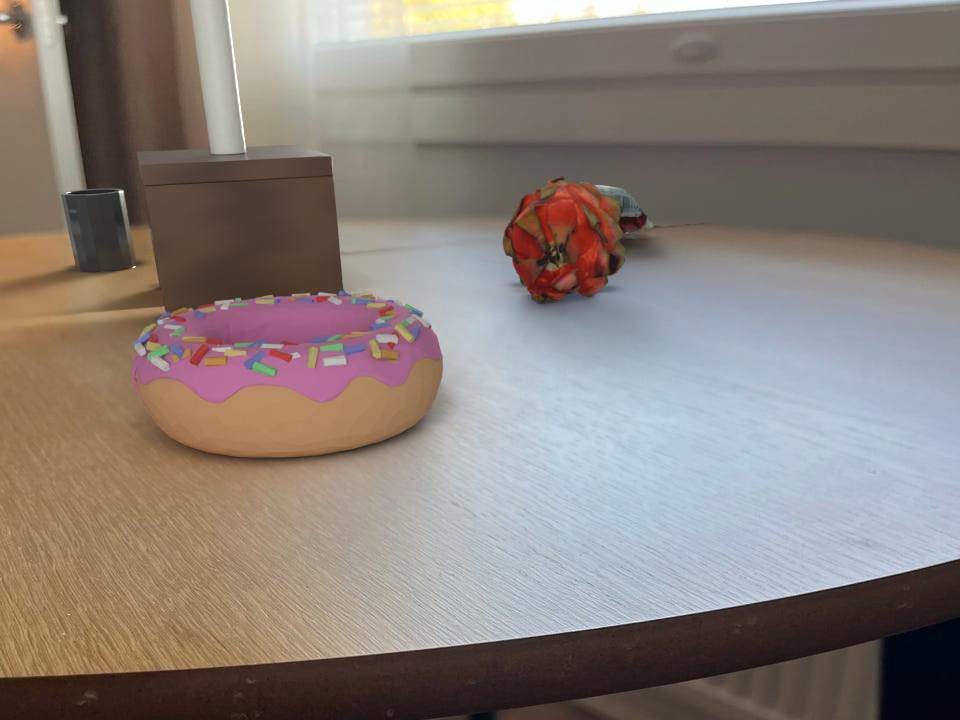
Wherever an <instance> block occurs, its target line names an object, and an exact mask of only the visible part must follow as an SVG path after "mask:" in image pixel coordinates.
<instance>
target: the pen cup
mask: <svg viewBox="0 0 960 720" xmlns="http://www.w3.org/2000/svg"><path fill="white" fill-rule="evenodd" d="M60 198H61V202H62V207H63V212H64V216H65V221H66V226H67V231H68V236H69V240H70V247H71V251H72V255H73V256H72V257H73V260H74V264H75V265H74V266H75V269H76V271H77V272H82V273H109V272H110V273H111V272H120V271H124V270H125V271H126V270H130V269H134V268H136V267H137V266H138V264H137V258H136V252H135V247H134V242H133V241H134V240H133V236H132V231H131V224H130V219H129V214H128V209H127V208H128V207H127V203H126V197H125V191H124V189H121V188H90V189H77V190H70V191H64V192H61V193H60Z"/></svg>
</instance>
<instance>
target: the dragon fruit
mask: <svg viewBox="0 0 960 720" xmlns="http://www.w3.org/2000/svg"><path fill="white" fill-rule="evenodd" d="M622 213H623V207H622V205H621V203H620V202H619V201H618V200H617V199H616V198H615V197H612V196H608V195H601V193H600V190H599V189H598V188H597V187H596V186H595V184H593V183H591V182H587V181H585V182H578V181H576V180H573V181H571V182H569V183H568V182H567V181H566V180H565V176H563V175H561V176H558V177H553V178H550V179H549V180H548V181H547V183H546V186H544V187H537V188H536V189H535V192H534V193H527V194H525V195H524V196H523V197H522V198H521V199H520V200H519V201H518V202H517V204H516V206H515V208H514V210H513V214H512V215H511V218H510V220H509V222H507V226H506V227H505V229H504V233H503V237H502V246H503V251H504V254H505V255H506V256H507V257H510V258H511V259H512V265H513V267H514V270H515V273H516V274H517V275H518V277H519V282H520V284H521V285H522V286H524V287H526V290H527V292H528V293H529V294H530V295H531V300H533V301H535V302H536V303H538V304H542V303H547V302H549V303H557V302H559V301H560V300H562V299H563V298H564V296H565V295H566V293H568V292H570V293H572V294H573V293H578V294H579V295H581V296H583V297H585V298H592V297H594V296H595V295H597V294H598V293H599V292H600V291H601V290H602V289H604V287H606V286H607V284H608V283H609V278H608V277H611V276H614V275H615V274H617V273H618V272H619V271H620V269H621V268H622V266H623V265H624V264H625V262H626V260H627V258H626V256H627V254H628V252H629V250H628V249H627V248H626V247H624V245H623V244H622V243H621V241H622V240H623V239H622V237H623V236H624V235H625V234H624V233H623V232H622V230H621V228H620V227H619V226H620V224H619V223H618V221H619V219H620V217H621V214H622ZM621 239H622V240H621Z"/></svg>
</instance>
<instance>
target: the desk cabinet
mask: <svg viewBox="0 0 960 720" xmlns="http://www.w3.org/2000/svg"><path fill="white" fill-rule="evenodd" d="M245 147H246V153H243V154H233V155H213V154H211V151H210V148H195V149H194V148H192V149H172V150H171V149H170V150H149V151H136V157H137V164H138V169H139V175H140V180H141V181H140V182H141V186H142V192H143V199H144V204H145V210H146V215H147V222H148V227H149V233H150V239H151V245H152V250H153V256H154V262H155V270H156V273H157V280H158V285H159V290H161V295H162V300H163V304H164V311H165V312H170V313H172V312H175V311H177V310H179V309H182V308H184V307H185V308H187V309H189V308H192V309H193V310H196V309H198V306H201V305H207V304H213V303H214V304H215V301H223V300H234V301H235V298H241V300H248V299H255V298H259V297H263V296H268V295H273V297H277V296H284V297H286V296H292V294H305V293H310V295H318V293H319V292H322V293H330V294H337V296H340V295H338V294H339V291H344V281H343V268H342V258H341V246H340V234H339V226H338V225H339V224H338V212H337V201H336V200H337V199H336V188H335V177H334V168H333V167H334V166H333V156H332V155H330V154H327V153H324V152H321V151H318V150H316V149H312V148H310V147H307V146H304V145H301V144H280V145H258V146H245ZM165 312H164V313H165Z"/></svg>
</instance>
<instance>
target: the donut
mask: <svg viewBox="0 0 960 720" xmlns="http://www.w3.org/2000/svg"><path fill="white" fill-rule="evenodd" d="M338 295H340V296H337V294H330V293H322V292H319V293H318V295H310V293H305V294H292V296H286V297H284V296H277V297H273V295H268V296H263V297H259V298H255V299H248V300H241V298H235V301H234V300H223V301H215V304H214V303H213V304H207V305H201V306H198V309H196V310H193V309H192V308H189V309H187V308H185V307H184V308H182V309H179V310H177V311H175V312H172V313H170V312H164V313H163V314H162V315H161V316H160V317H159V318H157V319H156V320H155V321H154V322H153V323H150V324H149V325H146V326H145V327H144V328H143V330H142V332H141V333H140V336H139V337H138V338H137V339H136V340H135V341H134V342H132V346H133V348H134V351H136V354H135V355H134V358H133V361H132V364H131V365H132V367H131V381H132V386H133V388H134V390H135V392H136V395H137V397H138V398H139V401H141V403H142V405H143V407H144V408H145V410H146V412H147V414H149V416H150V417H151V419H152V420H153V421H154V423H155V424H156V426H157V427H158V428H159V429H160V430H161V431H162V432H164V434H166V435H167V436H168V437H169V438H170V439H172V440H174V441H176V442H178V443H180V444H181V445H184V446H186V447H190V448H192V449H195V450H199V451H203V452H206V453H209V454H216V455H223V456H229V457H235V458H237V457H238V458H249V459H251V458H253V459H254V458H256V459H257V458H258V459H261V458H262V459H263V458H264V459H265V458H299V457H300V458H301V457H310V456H312V457H313V456H320V455H327V454H333V453H338V452H344V451H350V450H355V449H358V448H361V447H365V446H369V445H373V444H376V443H379V442H383V441H385V440H388V439H390V438H392V437H395V436H398V435H400V434H401V433H403V432H405V431H407V430H408V429H410V428H412V427H413V426H415V425H417V424H418V423H419V421H421V419H423V418H424V417H425V416H426V414H427V413H428V412H429V411H430V410H431V408H432V406H433V404H434V402H435V399H436V397H437V395H438V392H439V390H440V386H441V382H442V378H443V372H444V371H443V370H444V357H443V353H442V350H441V346H440V342H439V338H438V335H437V334H436V333H435V331H434V330H433V328H432V325H431V323H430V322H429V321H428V320H425V318H422V317H423V315H424V312H423V311H421V310H419V309H417V308H415V307H414V306H412V305H410V304H408V303H405V305H404V304H403V303H402V302H401V301H399V300H398V299H396V300H394V299H389V298H388V299H386V298H382V297H380V296H379V297H377V298H376V297H375V295H373V294H372V293H369V294H361V295H360V294H354V295H353V296H352V295H351V294H349V293H348V292H346V291H345V290H343V291H339V294H338Z"/></svg>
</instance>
